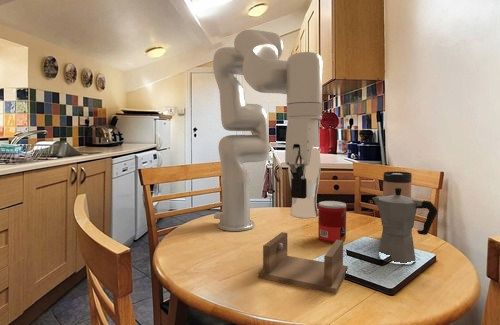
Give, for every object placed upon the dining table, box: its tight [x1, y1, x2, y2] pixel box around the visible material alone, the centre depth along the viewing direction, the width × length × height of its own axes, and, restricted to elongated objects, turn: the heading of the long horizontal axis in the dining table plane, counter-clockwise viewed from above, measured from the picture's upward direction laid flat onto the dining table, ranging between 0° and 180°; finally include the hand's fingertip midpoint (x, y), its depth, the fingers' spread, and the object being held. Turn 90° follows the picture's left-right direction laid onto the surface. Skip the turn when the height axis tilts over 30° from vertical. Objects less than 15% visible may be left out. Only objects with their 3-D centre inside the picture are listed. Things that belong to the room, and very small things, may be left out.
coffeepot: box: [371, 188, 438, 263], centre depth 79 cm, size 15×9×18 cm, turn 43°
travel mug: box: [382, 171, 413, 198], centre depth 94 cm, size 8×8×20 cm
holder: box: [257, 231, 349, 295], centre depth 71 cm, size 17×12×7 cm
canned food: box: [317, 200, 347, 244], centre depth 95 cm, size 8×8×11 cm
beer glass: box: [287, 146, 322, 219], centre depth 70 cm, size 7×7×15 cm
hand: (304, 194), depth 70 cm, fingers closed on beer glass, 6 cm apart
